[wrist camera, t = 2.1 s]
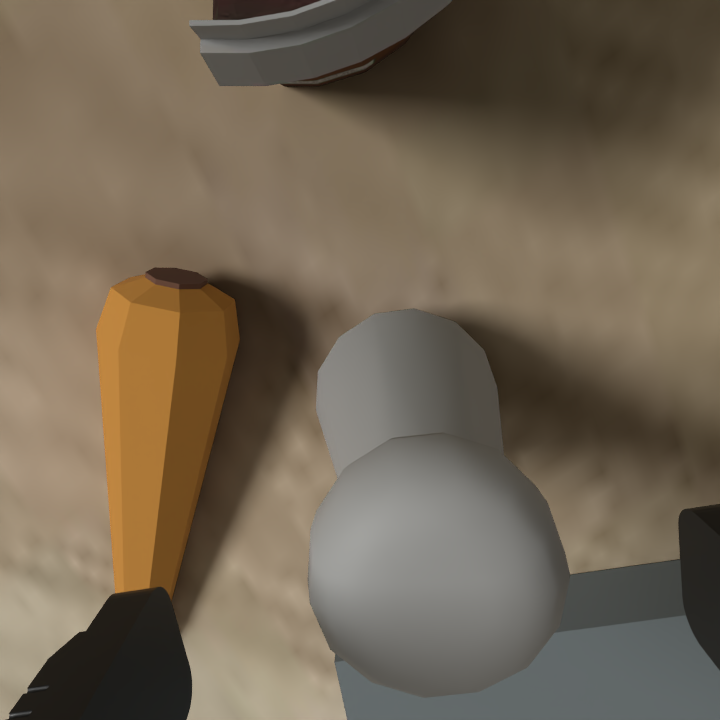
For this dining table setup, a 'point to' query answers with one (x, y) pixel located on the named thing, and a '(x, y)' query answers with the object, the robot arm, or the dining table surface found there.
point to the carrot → (160, 413)
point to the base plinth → (582, 662)
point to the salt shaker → (427, 516)
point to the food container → (305, 38)
